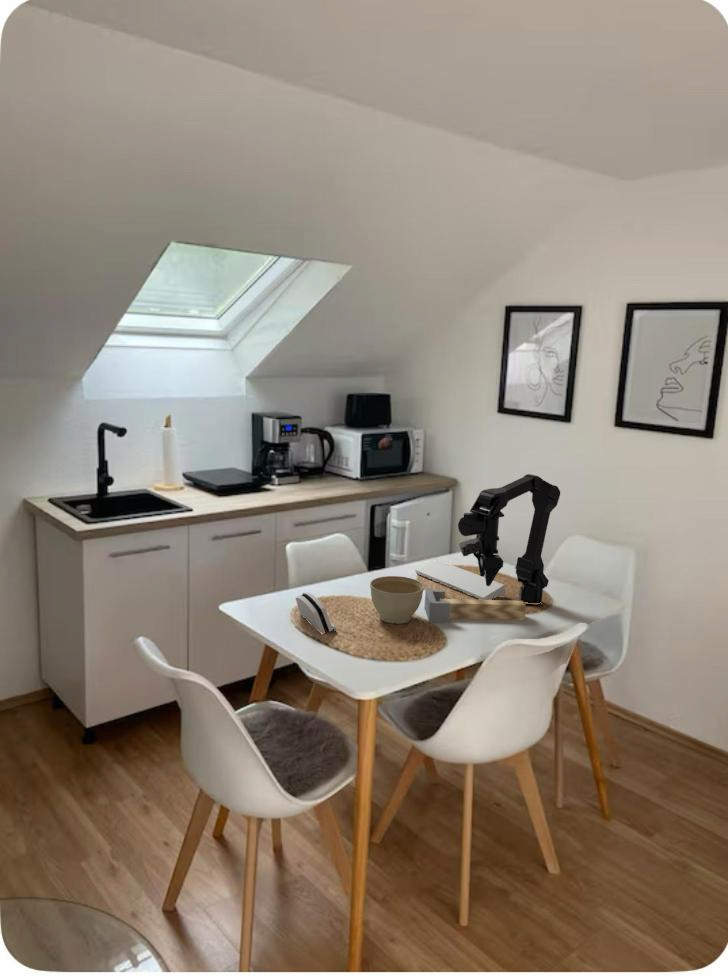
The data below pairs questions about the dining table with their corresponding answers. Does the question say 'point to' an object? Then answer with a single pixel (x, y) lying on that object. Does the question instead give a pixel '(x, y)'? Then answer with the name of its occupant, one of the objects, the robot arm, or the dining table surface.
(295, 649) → the dining table surface
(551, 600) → the dining table surface
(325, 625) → the grey black arched block
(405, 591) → the planter bowl
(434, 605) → the end cap
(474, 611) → the oak slat
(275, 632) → the dining table surface
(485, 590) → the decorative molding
